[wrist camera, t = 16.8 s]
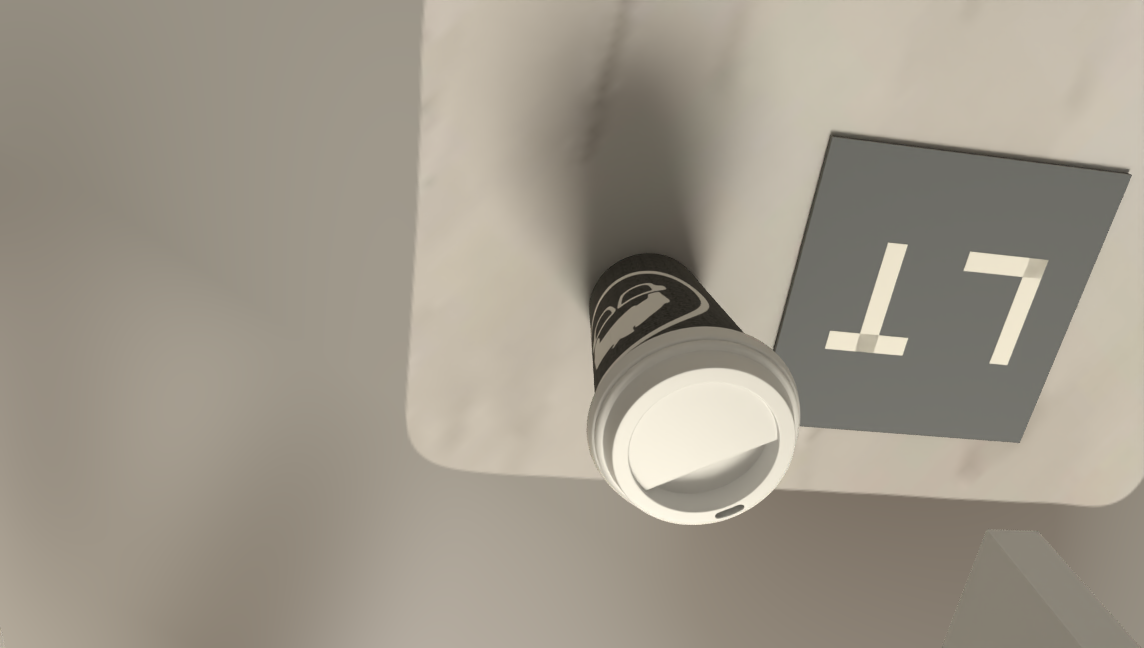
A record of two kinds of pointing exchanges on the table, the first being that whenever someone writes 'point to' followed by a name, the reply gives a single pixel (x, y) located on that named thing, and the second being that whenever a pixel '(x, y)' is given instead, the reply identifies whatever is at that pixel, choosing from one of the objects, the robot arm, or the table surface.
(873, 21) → the table surface
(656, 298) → the coffee cup
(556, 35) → the table surface
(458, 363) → the table surface
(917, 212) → the mat
